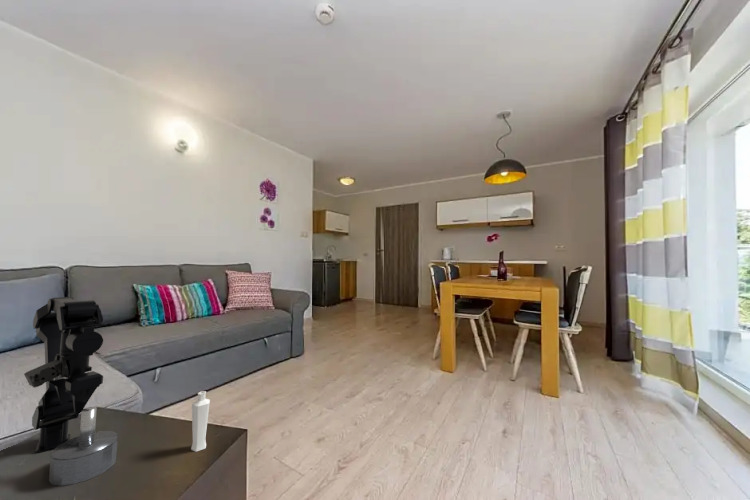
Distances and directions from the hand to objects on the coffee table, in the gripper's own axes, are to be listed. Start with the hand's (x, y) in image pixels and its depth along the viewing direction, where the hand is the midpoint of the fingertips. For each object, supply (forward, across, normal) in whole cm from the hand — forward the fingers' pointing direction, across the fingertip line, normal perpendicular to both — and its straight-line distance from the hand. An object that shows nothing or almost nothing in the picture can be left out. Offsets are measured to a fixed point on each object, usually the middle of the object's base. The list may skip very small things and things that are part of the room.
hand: (70, 409), depth 79 cm
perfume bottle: (+13, +24, +21) cm, 34 cm away
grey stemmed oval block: (+13, +8, +1) cm, 15 cm away
